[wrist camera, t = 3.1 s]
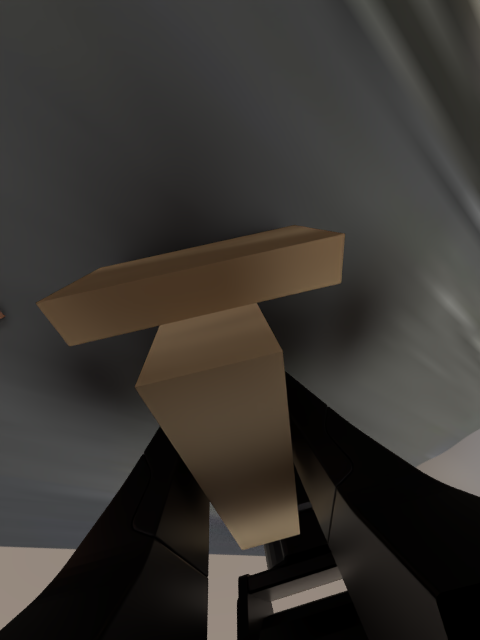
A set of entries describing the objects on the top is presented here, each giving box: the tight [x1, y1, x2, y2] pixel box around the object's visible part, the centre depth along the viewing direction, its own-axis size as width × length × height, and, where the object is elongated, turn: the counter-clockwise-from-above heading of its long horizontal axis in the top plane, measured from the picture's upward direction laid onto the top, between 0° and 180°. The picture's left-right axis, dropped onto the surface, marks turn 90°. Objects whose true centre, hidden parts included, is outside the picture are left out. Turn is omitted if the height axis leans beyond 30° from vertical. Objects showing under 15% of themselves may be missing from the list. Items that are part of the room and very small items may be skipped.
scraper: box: [36, 225, 345, 550], centre depth 8 cm, size 11×7×5 cm, turn 11°
